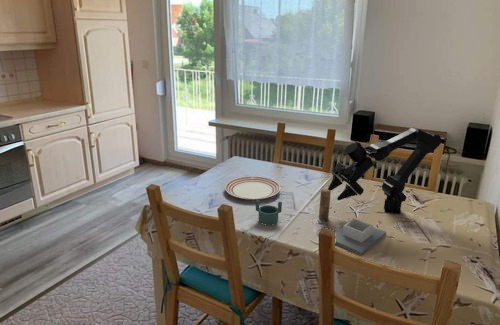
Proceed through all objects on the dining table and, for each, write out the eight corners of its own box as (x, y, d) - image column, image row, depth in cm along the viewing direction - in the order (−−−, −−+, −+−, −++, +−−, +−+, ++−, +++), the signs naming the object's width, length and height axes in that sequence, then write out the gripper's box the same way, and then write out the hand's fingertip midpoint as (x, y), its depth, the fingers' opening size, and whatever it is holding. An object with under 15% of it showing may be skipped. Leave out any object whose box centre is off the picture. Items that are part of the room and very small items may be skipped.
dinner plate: (272, 207, 163) (272, 201, 162) (216, 199, 172) (216, 192, 170) (285, 185, 188) (286, 179, 187) (236, 179, 196) (236, 173, 195)
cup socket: (353, 222, 150) (354, 211, 149) (385, 234, 141) (387, 222, 140) (326, 240, 137) (328, 228, 135) (361, 255, 128) (362, 242, 126)
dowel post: (329, 216, 155) (331, 189, 151) (327, 220, 152) (329, 193, 147) (319, 215, 156) (321, 188, 152) (317, 219, 153) (320, 191, 149)
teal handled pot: (283, 222, 150) (283, 202, 148) (264, 227, 146) (265, 207, 143) (270, 213, 158) (271, 194, 155) (252, 218, 153) (253, 199, 150)
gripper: (338, 149, 156) (312, 175, 157) (360, 163, 139) (330, 192, 140) (352, 166, 160) (327, 190, 161) (375, 181, 143) (347, 209, 144)
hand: (332, 195), depth 151 cm, fingers open, 9 cm apart
